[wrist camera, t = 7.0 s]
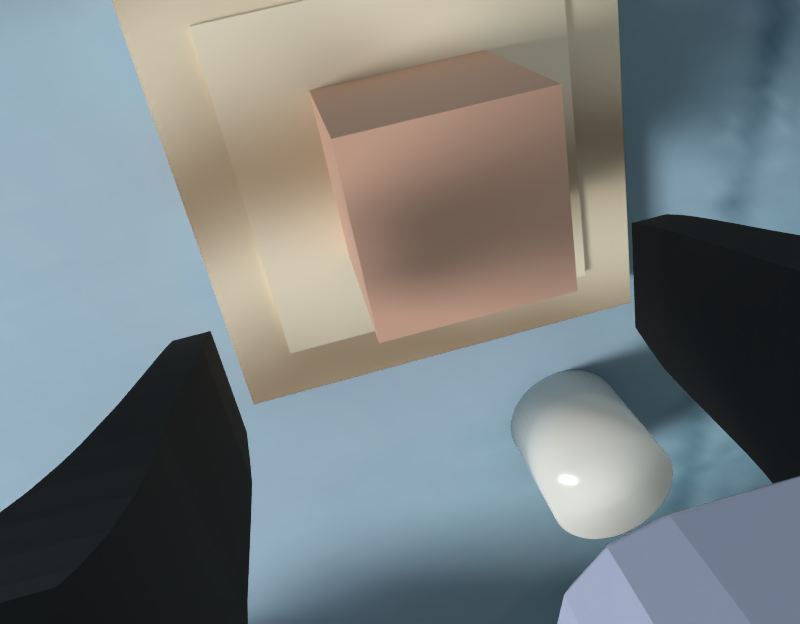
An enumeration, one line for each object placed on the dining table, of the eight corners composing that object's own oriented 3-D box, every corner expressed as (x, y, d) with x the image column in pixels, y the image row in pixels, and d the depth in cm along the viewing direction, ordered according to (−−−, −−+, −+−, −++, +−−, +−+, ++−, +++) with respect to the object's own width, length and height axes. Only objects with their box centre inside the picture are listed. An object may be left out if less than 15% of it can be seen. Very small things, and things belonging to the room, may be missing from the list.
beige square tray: (609, 282, 24) (634, 305, 23) (253, 377, 23) (253, 409, 22) (584, -136, 18) (616, -143, 17) (111, -33, 17) (98, -31, 16)
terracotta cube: (505, 215, 20) (577, 291, 16) (348, 255, 20) (379, 343, 16) (484, 49, 18) (561, 83, 14) (308, 90, 18) (331, 138, 14)
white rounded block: (618, 445, 28) (673, 518, 24) (517, 474, 27) (558, 553, 24) (612, 357, 26) (671, 422, 22) (504, 387, 25) (546, 458, 22)
